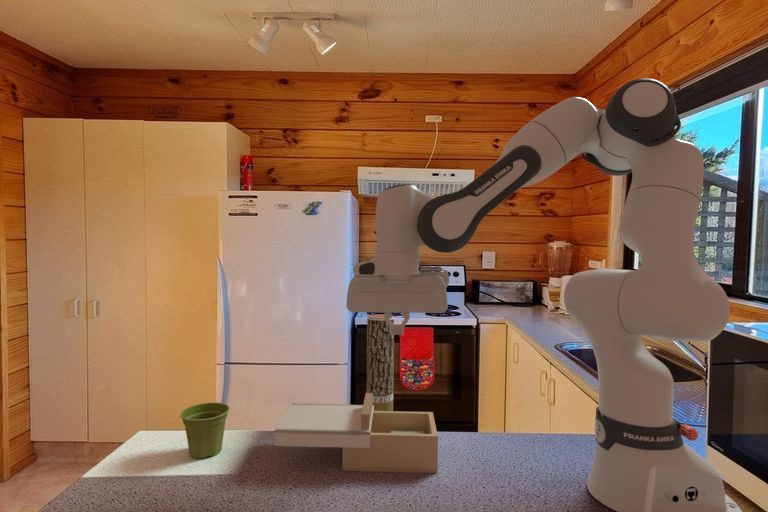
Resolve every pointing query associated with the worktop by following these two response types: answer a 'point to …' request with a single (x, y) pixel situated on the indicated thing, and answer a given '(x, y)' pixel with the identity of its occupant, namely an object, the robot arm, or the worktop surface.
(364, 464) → the tan open box
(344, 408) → the lid
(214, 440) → the plant pot
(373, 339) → the bark textured cylinder
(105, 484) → the worktop surface
